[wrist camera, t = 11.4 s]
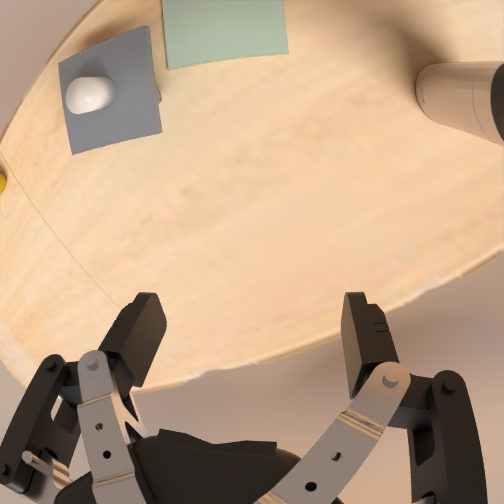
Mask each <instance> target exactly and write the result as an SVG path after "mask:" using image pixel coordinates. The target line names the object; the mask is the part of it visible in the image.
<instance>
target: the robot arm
mask: <svg viewBox="0 0 504 504" xmlns="http://www.w3.org/2000/svg"><path fill="white" fill-rule="evenodd" d="M416 96H417V100H418V103H419V105H420V107H421V109H422V110H423V112H424V113H425V114H426V115H427V116H428V117H429V118H430V119H431V120H433V121H434V122H437V123H439V124H442V125H446V126H449V127H452V128H455V129H458V130H461V131H464V132H467V133H470V134H472V135H475V136H478V137H481V138H483V139H486V140H489V141H491V142H494V143H496V144H499V145H501V146H504V61H480V62H456V63H441V64H432V65H429V66H427V67H425V68H424V69H423V70H422V71H421V72H420V73H419V75H418V77H417V81H416ZM166 327H167V321H166V317H165V314H164V312H163V309H162V306H161V303H160V301H159V298H158V295H157V294H156V293H146V292H140V293H138V294H137V296H136V298H135V299H134V301H133V302H132V303H129V304H128V305H127V306H126V307H124V308H123V309H122V310H121V312H120V313H119V315H118V316H117V318H116V320H115V321H114V323H113V326H112V327H111V328H110V330H109V331H108V333H107V335H106V336H105V338H104V340H103V341H102V343H101V345H100V346H99V348H98V350H93V351H90V352H87V353H86V354H84V355H83V356H82V357H81V359H80V360H79V361H76V362H65V360H64V359H63V358H62V357H61V356H60V355H58V354H53V355H50V356H48V357H46V358H45V359H44V360H43V361H42V363H41V365H40V366H39V368H38V370H37V372H36V373H35V375H34V377H33V379H32V381H31V383H30V384H29V386H28V388H27V390H26V392H25V394H24V396H23V398H22V400H21V402H20V404H19V406H18V408H17V410H16V412H15V414H14V416H13V418H12V421H11V423H10V425H9V427H8V429H7V432H6V434H5V437H4V439H3V441H2V444H1V446H0V484H2V485H4V486H6V487H7V488H10V489H11V490H13V491H14V492H15V493H17V494H19V495H21V496H23V497H25V498H27V499H29V500H31V501H34V502H36V503H37V504H344V503H343V502H342V501H341V500H340V499H339V498H338V497H337V496H338V495H339V493H340V492H341V491H342V490H343V489H344V487H345V486H346V485H347V483H348V482H349V481H350V480H351V478H352V477H353V476H354V475H355V473H356V472H357V471H358V469H359V468H360V466H361V465H362V464H363V462H364V461H365V460H366V458H367V457H368V455H369V454H370V452H371V451H372V449H373V448H374V446H375V445H376V443H377V442H378V440H379V439H380V437H381V435H382V434H383V431H384V430H385V428H386V426H390V427H396V428H403V429H407V434H408V443H409V455H410V468H411V491H412V504H488V501H487V488H486V479H485V470H484V463H483V457H482V452H481V446H480V440H479V435H478V431H477V426H476V422H475V418H474V413H473V410H472V406H471V402H470V398H469V395H468V391H467V388H466V385H465V382H464V380H463V378H462V377H461V376H460V375H459V374H458V373H456V372H454V371H451V370H444V371H441V372H439V373H437V375H435V377H434V378H427V377H420V376H415V375H412V374H410V373H409V372H408V370H407V369H406V368H405V367H404V366H403V365H401V364H400V363H399V360H398V357H397V353H396V350H395V346H394V343H393V340H392V337H391V333H390V332H389V327H388V324H387V321H386V318H385V315H384V312H383V311H382V310H381V309H380V308H379V306H378V305H377V304H367V300H366V297H365V294H364V292H347V293H345V296H344V304H343V311H342V318H341V335H342V342H343V348H344V355H345V362H346V370H347V377H348V386H349V394H350V399H354V400H353V401H352V403H351V404H350V406H349V407H348V408H347V409H346V410H345V411H344V412H342V413H341V414H340V415H339V416H338V417H337V418H336V419H335V421H334V422H333V423H332V424H331V425H330V427H329V428H328V429H327V430H326V432H325V433H324V434H323V435H322V436H321V438H320V439H319V440H318V441H317V442H316V443H315V445H314V446H313V447H312V448H311V449H310V450H309V451H308V453H307V454H306V455H305V456H304V457H303V458H302V459H301V458H300V457H298V456H296V455H294V454H292V453H290V452H288V451H285V450H282V449H278V448H277V442H266V441H247V440H246V441H239V442H231V443H223V444H211V443H208V442H206V441H203V440H201V439H198V438H196V437H193V436H191V435H188V434H186V433H181V432H175V431H170V430H165V429H160V430H159V433H158V435H155V436H149V434H148V433H147V431H146V430H145V428H144V426H143V423H142V421H141V418H140V415H139V413H138V410H137V407H136V404H135V402H134V398H133V396H132V393H131V392H130V390H131V387H132V386H136V387H141V388H142V386H143V383H144V381H145V378H146V376H147V373H148V371H149V369H150V366H151V364H152V362H153V359H154V357H155V354H156V352H157V350H158V347H159V345H160V343H161V340H162V338H163V336H164V334H165V331H166ZM58 395H59V396H60V397H61V398H62V399H63V400H62V403H61V405H60V407H59V409H58V412H57V414H56V416H55V418H54V421H53V420H52V418H51V410H52V408H53V406H54V404H55V401H56V399H57V397H58ZM81 433H82V437H83V442H84V446H85V450H86V454H87V458H88V462H89V465H90V469H91V471H90V472H88V473H87V474H85V475H84V476H82V477H80V478H78V479H77V480H75V481H74V482H73V480H72V478H71V477H70V475H69V471H68V468H69V465H70V462H71V459H72V456H73V453H74V450H75V448H76V445H77V442H78V439H79V436H80V434H81Z"/></svg>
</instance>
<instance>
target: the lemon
mask: <svg viewBox="0 0 504 504" xmlns="http://www.w3.org/2000/svg"><path fill="white" fill-rule="evenodd" d="M5 187H6V178H5V177H4V175H3V174H1V173H0V195H1V194H2V193H3V191H4V190H5Z"/></svg>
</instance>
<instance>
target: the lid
mask: <svg viewBox="0 0 504 504" xmlns="http://www.w3.org/2000/svg"><path fill="white" fill-rule="evenodd" d="M58 65H59V76H60V86H61V94H62V101H63V108H64V115H65V121H66V126H67V132H68V137H69V142H70V147H71V151H72V155H74V154H78V153H81V152H85V151H88V150H92V149H95V148H99V147H103V146H106V145H110V144H114V143H118V142H122V141H127V140H131V139H136V138H140V137H145V136H150V135H155V134H159V133H162V126H161V120H160V113H159V106H158V99H157V92H156V84H155V76H154V68H153V59H152V50H151V39H150V28H149V27H148V26H146V25H145V26H142V27H139V28H137V29H134V30H131V31H128V32H125V33H123V34H120V35H118V36H115V37H113V38H110V39H108V40H105V41H103V42H101V43H98V44H96V45H94V46H92V47H89V48H87V49H85V50H83V51H81V52H79V53H77V54H75V55H73V56H71V57H69V58H67V59H65V60H63V61H62V62H60V63H58Z"/></svg>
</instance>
